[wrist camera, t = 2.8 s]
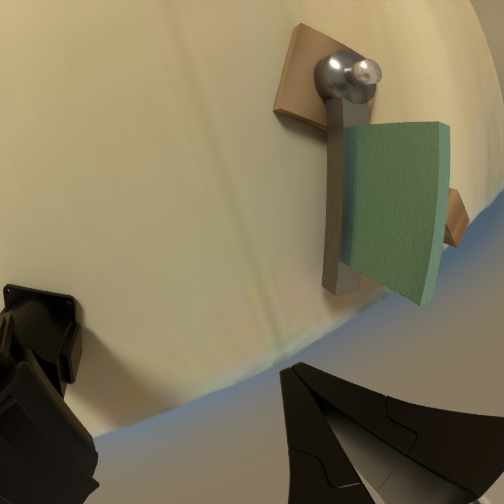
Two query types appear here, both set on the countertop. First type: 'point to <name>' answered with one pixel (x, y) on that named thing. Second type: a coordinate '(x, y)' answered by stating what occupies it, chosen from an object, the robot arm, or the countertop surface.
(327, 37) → the pintle block
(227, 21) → the countertop surface
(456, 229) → the block
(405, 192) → the link
